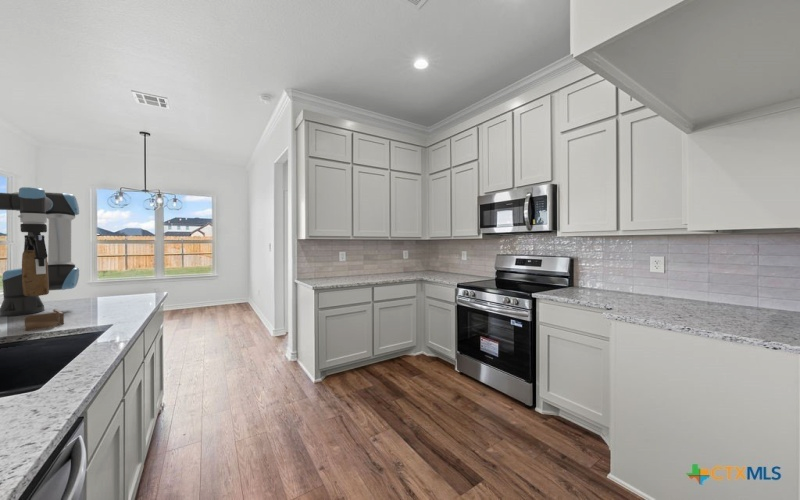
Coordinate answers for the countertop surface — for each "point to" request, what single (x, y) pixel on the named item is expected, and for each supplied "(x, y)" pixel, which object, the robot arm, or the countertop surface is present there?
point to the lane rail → (59, 316)
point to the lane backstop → (40, 321)
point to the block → (33, 276)
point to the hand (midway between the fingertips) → (36, 273)
